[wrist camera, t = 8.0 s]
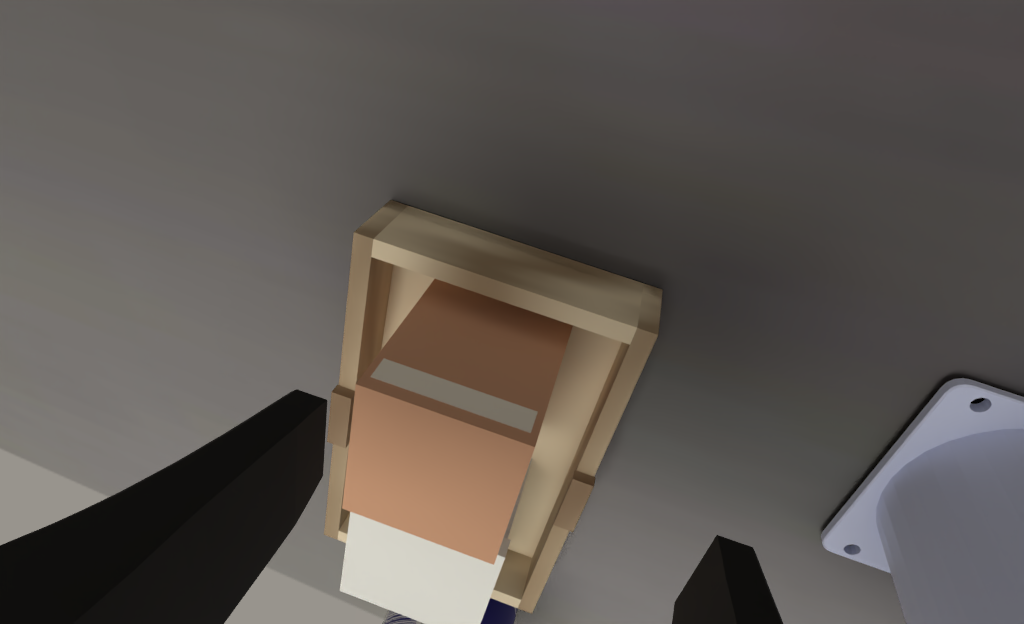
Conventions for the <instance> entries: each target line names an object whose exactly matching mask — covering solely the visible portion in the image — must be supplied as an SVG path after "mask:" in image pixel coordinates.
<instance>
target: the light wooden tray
mask: <svg viewBox="0 0 1024 624" xmlns="http://www.w3.org/2000/svg"><path fill="white" fill-rule="evenodd" d="M434 279H438V280H441V281H444V282H447V283H449V284H452V285H455V286H458V287H461V288H464V289H467V290H470V291H473V292H476V293H479V294H482V295H485V296H488V297H491V298H494V299H497V300H500V301H502V302H505V303H508V304H511V305H514V306H517V307H520V308H523V309H526V310H529V311H532V312H535V313H538V314H541V315H544V316H547V317H550V318H553V319H555V320H558V321H561V322H564V323H567V324H570V325H573V327H572V330H571V333H570V337H569V340H568V343H567V346H566V350H565V353H564V356H563V359H562V362H561V366H560V369H559V372H558V375H557V378H556V382H555V385H554V388H553V391H552V394H551V398H550V401H549V404H548V407H547V410H546V414H545V417H544V420H543V423H542V426H541V430H540V433H539V436H538V439H537V443H536V446H535V449H534V452H533V454H532V457H531V458H532V462H531V465H530V468H529V472H528V475H527V478H526V481H525V484H524V488H523V491H522V494H521V497H520V501H519V504H518V507H517V510H516V514H515V517H514V520H513V523H512V526H511V530H510V533H509V536H508V539H510V540H511V541H510V544H509V547H508V550H507V554H506V557H505V560H504V563H503V565H502V568H501V571H500V573H499V576H498V579H497V581H496V584H495V586H494V589H493V592H492V594H491V597H490V598H492V599H495V600H497V601H500V602H502V603H505V604H508V605H510V606H513V607H516V608H518V609H521V610H523V611H526V612H529V613H531V614H532V612H533V610H534V608H535V606H536V604H537V601H538V599H539V597H540V595H541V593H542V590H543V588H544V586H545V584H546V582H547V579H548V577H549V575H550V573H551V571H552V568H553V566H554V564H555V562H556V560H557V557H558V555H559V553H560V551H561V549H562V546H563V544H564V542H565V540H566V537H567V535H568V533H569V531H571V532H573V531H574V528H575V526H576V524H577V522H578V520H579V518H580V515H581V513H582V511H583V509H584V507H585V505H586V502H587V500H588V498H589V496H590V494H591V491H592V489H593V487H594V483H595V477H594V476H595V474H596V471H597V469H598V467H599V465H600V463H601V460H602V458H603V456H604V454H605V451H606V449H607V447H608V445H609V443H610V440H611V438H612V436H613V434H614V432H615V429H616V427H617V425H618V423H619V421H620V418H621V416H622V414H623V412H624V410H625V407H626V405H627V403H628V401H629V399H630V396H631V394H632V392H633V390H634V388H635V385H636V383H637V381H638V379H639V377H640V374H641V372H642V370H643V368H644V366H645V363H646V361H647V359H648V357H649V354H650V352H651V350H652V348H653V346H654V343H655V341H656V339H657V337H658V333H659V323H660V312H661V301H662V291H663V290H662V289H659V288H656V287H653V286H650V285H647V284H644V283H641V282H638V281H635V280H632V279H629V278H626V277H623V276H620V275H616V274H613V273H610V272H607V271H604V270H601V269H598V268H595V267H592V266H589V265H586V264H583V263H580V262H577V261H574V260H571V259H568V258H565V257H562V256H559V255H556V254H553V253H550V252H547V251H544V250H541V249H538V248H535V247H532V246H529V245H526V244H523V243H520V242H517V241H514V240H511V239H508V238H505V237H502V236H499V235H496V234H493V233H490V232H486V231H483V230H480V229H477V228H474V227H471V226H468V225H465V224H462V223H459V222H456V221H453V220H450V219H447V218H444V217H441V216H438V215H435V214H432V213H429V212H426V211H423V210H420V209H417V208H414V207H411V206H408V205H405V204H402V203H399V202H396V201H393V200H390V201H389V202H388V203H387V204H385V205H384V206H383V207H382V208H381V209H380V210H379V211H377V212H376V213H375V214H374V215H373V216H372V217H371V218H370V219H368V220H367V221H366V222H365V223H364V224H363V225H362V226H360V227H359V228H358V229H357V230H356V231H355V232H354V236H353V246H352V256H351V266H350V277H349V287H348V297H347V307H346V317H345V327H344V338H343V348H342V358H341V368H340V378H339V385H337V386H336V387H335V388H334V390H333V391H332V394H331V405H330V416H329V427H328V438H327V442H329V443H332V444H333V449H332V459H331V469H330V480H329V490H328V500H327V510H326V520H325V530H324V535H327V536H329V537H332V538H334V539H337V540H340V541H342V542H345V543H346V541H347V533H348V526H349V518H350V511H347V510H345V509H342V505H343V496H344V487H345V478H346V468H347V459H348V450H349V441H350V432H351V423H352V414H353V405H354V395H355V386H356V383H357V382H358V380H359V379H360V378H361V376H362V375H363V374H364V372H365V371H366V370H367V368H368V367H369V366H370V364H371V363H372V362H373V360H374V359H375V358H376V356H377V355H378V354H379V352H380V351H381V350H382V348H383V347H384V346H385V344H386V343H387V342H388V340H389V339H390V338H391V336H392V335H393V334H394V332H395V331H396V330H397V328H398V327H399V326H400V324H401V323H402V322H403V320H404V319H405V318H406V316H407V315H408V314H409V312H410V311H411V310H412V308H413V307H414V306H415V304H416V303H417V302H418V300H419V299H420V298H421V296H422V295H423V294H424V292H425V291H426V290H427V288H428V287H429V286H430V284H431V283H432V282H433V280H434Z"/></svg>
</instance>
